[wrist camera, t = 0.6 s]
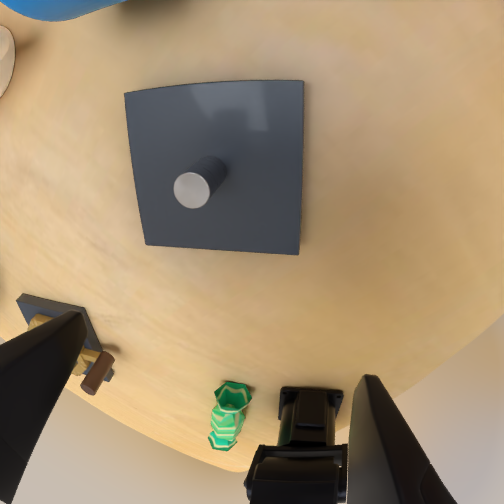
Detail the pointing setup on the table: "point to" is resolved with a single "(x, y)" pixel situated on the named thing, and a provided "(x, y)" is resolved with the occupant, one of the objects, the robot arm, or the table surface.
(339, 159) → the table surface
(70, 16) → the alarm clock
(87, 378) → the ring
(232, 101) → the near stand
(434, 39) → the table surface
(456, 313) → the table surface
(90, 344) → the far stand
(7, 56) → the mug
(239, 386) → the candy
